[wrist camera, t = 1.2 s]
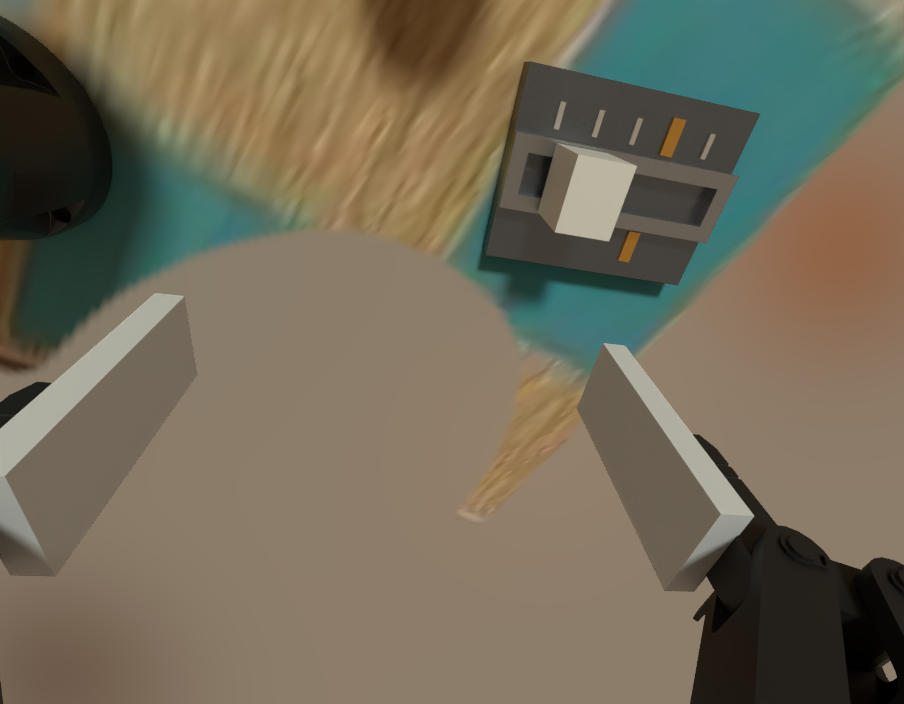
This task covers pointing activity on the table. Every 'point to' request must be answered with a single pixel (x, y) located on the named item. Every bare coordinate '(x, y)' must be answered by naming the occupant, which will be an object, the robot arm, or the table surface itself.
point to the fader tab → (585, 192)
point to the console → (631, 139)
